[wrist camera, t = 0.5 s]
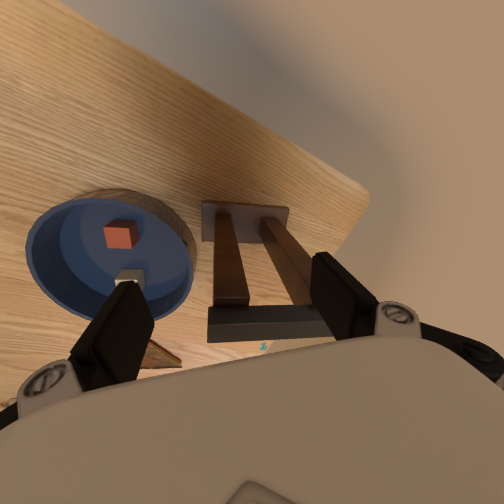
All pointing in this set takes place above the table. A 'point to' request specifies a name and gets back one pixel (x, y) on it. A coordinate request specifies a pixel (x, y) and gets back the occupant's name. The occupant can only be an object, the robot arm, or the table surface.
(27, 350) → the table surface
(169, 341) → the table surface
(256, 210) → the stick stand
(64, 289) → the bowl
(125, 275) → the cream block
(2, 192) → the table surface
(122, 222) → the terracotta block
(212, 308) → the stirring stick
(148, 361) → the shard
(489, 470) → the robot arm
